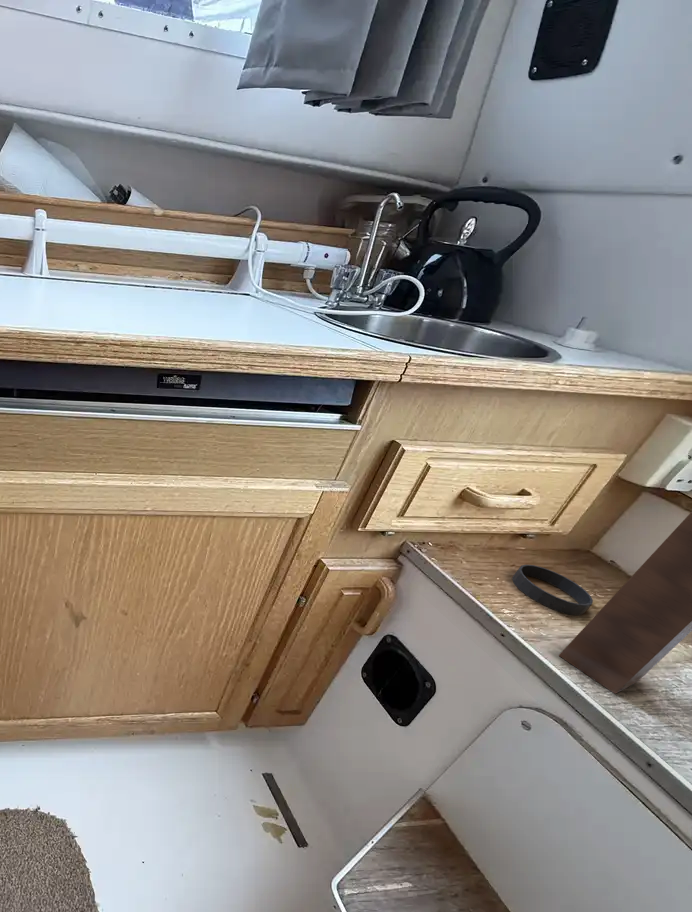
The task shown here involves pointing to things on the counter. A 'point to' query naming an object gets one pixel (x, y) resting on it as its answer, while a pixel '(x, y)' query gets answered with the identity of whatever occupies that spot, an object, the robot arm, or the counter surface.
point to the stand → (640, 617)
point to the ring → (548, 598)
